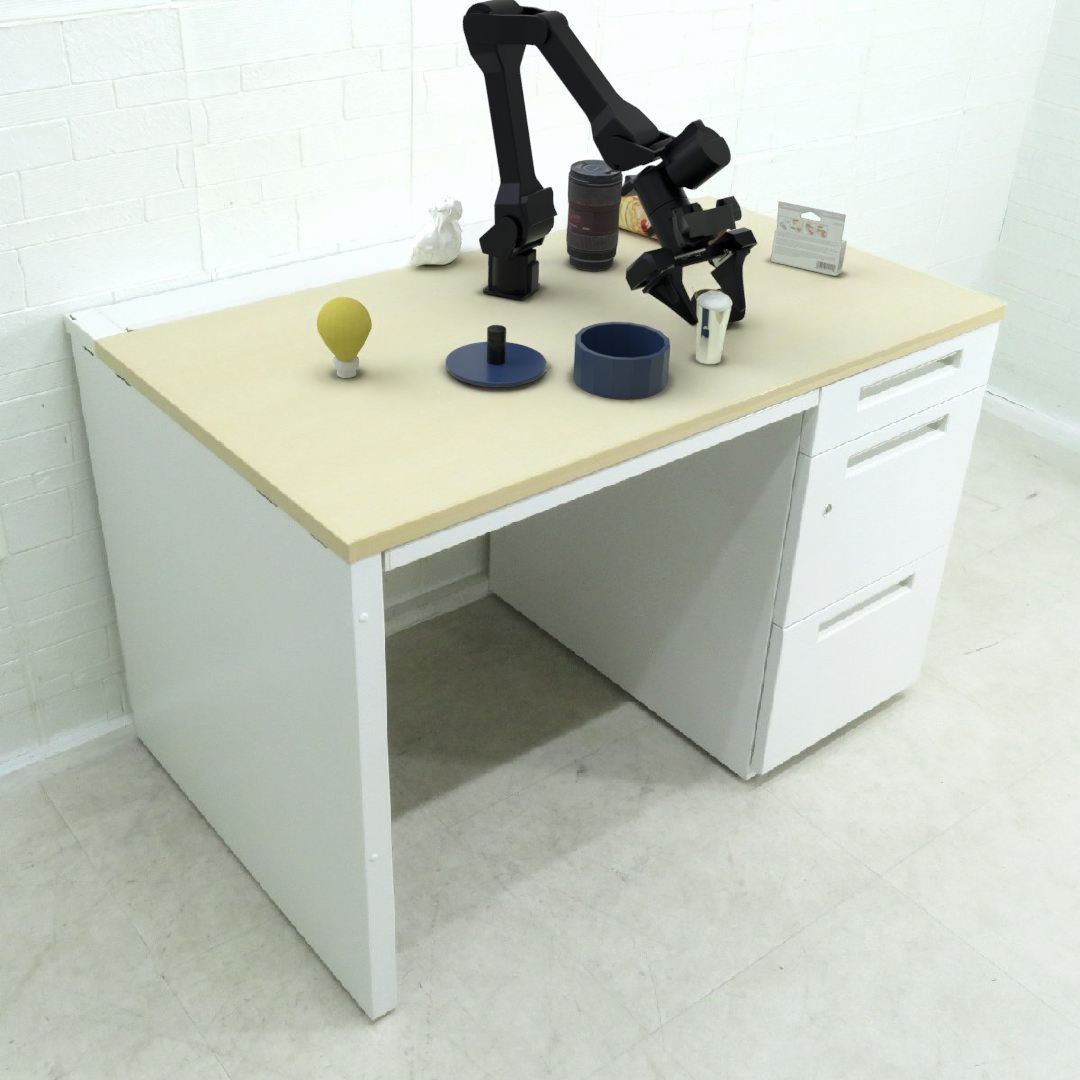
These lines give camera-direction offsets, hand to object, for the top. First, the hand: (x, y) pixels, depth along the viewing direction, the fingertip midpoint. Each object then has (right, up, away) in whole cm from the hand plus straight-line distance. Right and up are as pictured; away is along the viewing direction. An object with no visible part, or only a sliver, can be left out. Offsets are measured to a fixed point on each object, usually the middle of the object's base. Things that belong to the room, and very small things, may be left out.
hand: (719, 317), depth 165 cm
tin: (-13, -8, -2) cm, 15 cm away
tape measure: (+2, +2, +16) cm, 17 cm away
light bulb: (-47, -8, -3) cm, 48 cm away
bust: (-38, +14, +32) cm, 52 cm away
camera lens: (-15, +14, +34) cm, 39 cm away
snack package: (-3, +20, +45) cm, 49 cm away
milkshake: (-1, -5, +4) cm, 7 cm away
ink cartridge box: (+18, +14, +35) cm, 42 cm away
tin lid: (-29, -6, -1) cm, 29 cm away
